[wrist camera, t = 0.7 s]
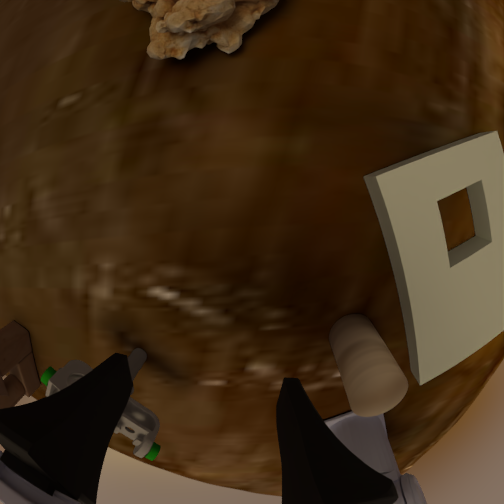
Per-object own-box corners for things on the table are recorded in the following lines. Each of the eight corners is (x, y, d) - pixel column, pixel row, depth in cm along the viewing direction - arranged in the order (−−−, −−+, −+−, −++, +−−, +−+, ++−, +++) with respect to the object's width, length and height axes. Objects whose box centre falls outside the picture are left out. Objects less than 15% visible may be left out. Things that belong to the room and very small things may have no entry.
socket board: (503, 311, 20) (515, 320, 18) (410, 370, 23) (420, 385, 20) (480, 132, 16) (496, 130, 14) (363, 176, 18) (375, 176, 16)
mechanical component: (176, 390, 25) (145, 466, 15) (94, 330, 23) (37, 389, 14) (190, 376, 24) (159, 457, 14) (103, 312, 23) (40, 371, 13)
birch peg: (376, 341, 22) (409, 400, 14) (335, 359, 22) (356, 424, 15) (367, 306, 21) (405, 363, 13) (323, 325, 22) (344, 390, 14)
